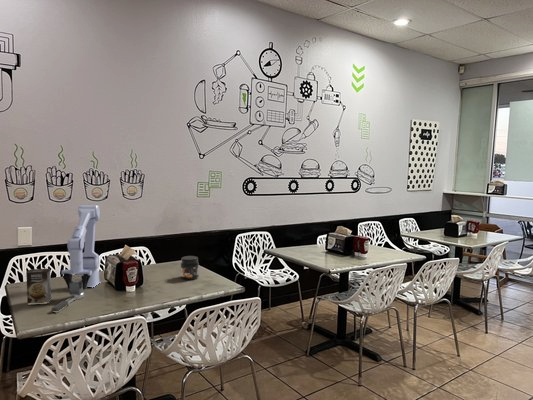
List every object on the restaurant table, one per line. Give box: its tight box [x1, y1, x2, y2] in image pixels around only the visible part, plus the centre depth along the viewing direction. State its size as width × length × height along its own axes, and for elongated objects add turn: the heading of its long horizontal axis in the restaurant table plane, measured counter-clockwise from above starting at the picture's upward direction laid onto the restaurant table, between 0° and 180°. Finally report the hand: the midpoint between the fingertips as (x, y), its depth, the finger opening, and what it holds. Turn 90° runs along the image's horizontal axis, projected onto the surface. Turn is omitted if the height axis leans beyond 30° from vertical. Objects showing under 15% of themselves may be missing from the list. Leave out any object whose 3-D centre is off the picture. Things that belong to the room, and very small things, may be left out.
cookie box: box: [25, 268, 52, 303], centre depth 196 cm, size 9×6×16 cm
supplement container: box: [180, 255, 200, 281], centre depth 240 cm, size 10×10×12 cm
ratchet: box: [51, 292, 85, 312], centre depth 196 cm, size 23×6×6 cm, turn 176°
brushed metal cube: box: [69, 279, 86, 295], centre depth 204 cm, size 5×5×6 cm
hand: (77, 288), depth 204 cm, fingers open, 7 cm apart
